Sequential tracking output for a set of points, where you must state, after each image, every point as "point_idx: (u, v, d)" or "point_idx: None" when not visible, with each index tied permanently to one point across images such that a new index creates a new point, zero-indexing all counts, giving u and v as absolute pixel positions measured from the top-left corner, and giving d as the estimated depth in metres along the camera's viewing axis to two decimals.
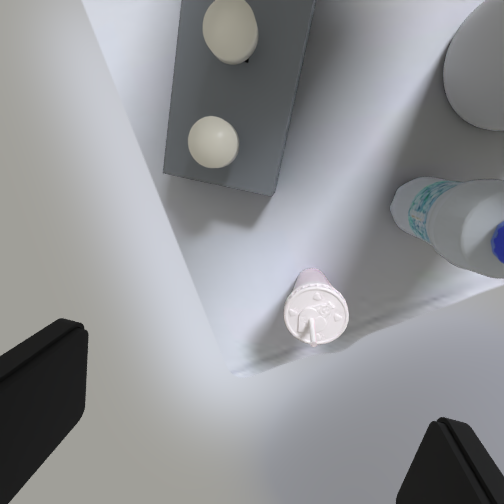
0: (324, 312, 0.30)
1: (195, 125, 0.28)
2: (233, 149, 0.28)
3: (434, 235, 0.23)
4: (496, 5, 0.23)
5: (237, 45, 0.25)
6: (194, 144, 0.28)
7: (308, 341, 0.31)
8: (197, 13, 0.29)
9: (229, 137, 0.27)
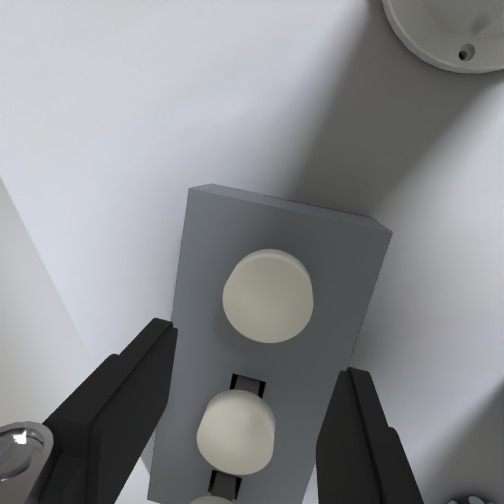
0: None
1: None
2: None
3: None
4: None
5: (246, 464, 0.18)
6: None
7: None
8: (190, 350, 0.21)
9: None
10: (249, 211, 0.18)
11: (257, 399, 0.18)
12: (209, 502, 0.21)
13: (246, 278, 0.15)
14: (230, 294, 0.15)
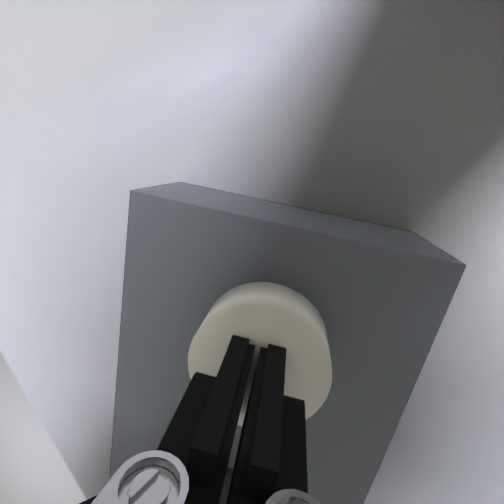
0: None
1: None
2: None
3: None
4: None
5: None
6: None
7: None
8: (146, 429, 0.15)
9: None
10: (227, 228, 0.11)
11: None
12: None
13: (224, 334, 0.09)
14: (199, 357, 0.10)
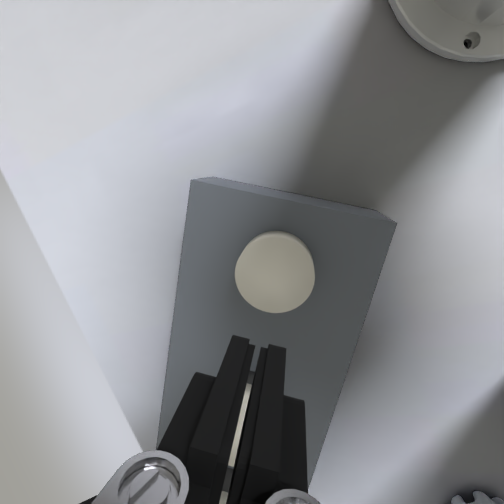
0: None
1: None
2: None
3: None
4: None
5: None
6: None
7: None
8: (193, 344, 0.21)
9: None
10: (252, 203, 0.18)
11: None
12: None
13: (256, 255, 0.17)
14: (241, 269, 0.17)
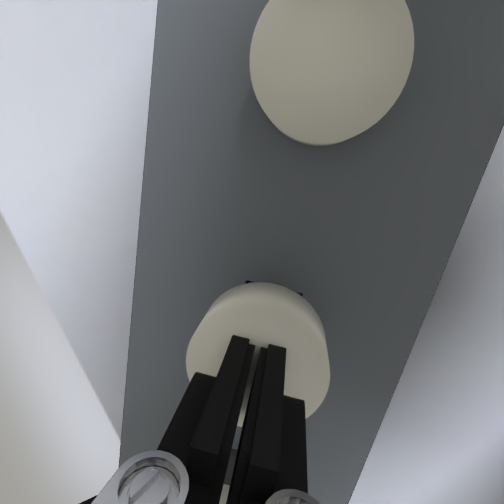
0: None
1: None
2: None
3: None
4: None
5: None
6: None
7: None
8: (176, 242, 0.13)
9: None
10: None
11: (296, 296, 0.10)
12: None
13: (293, 10, 0.08)
14: (263, 48, 0.09)
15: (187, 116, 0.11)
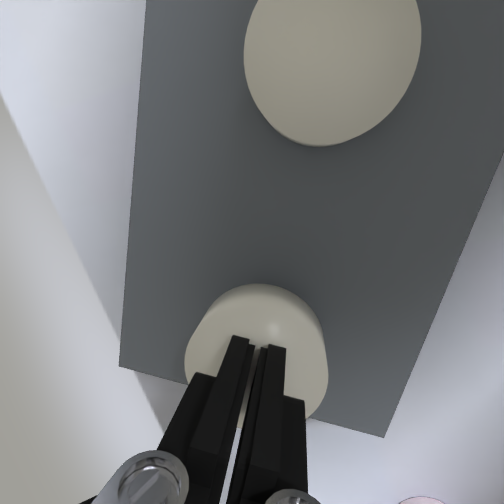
0: None
1: (206, 327, 0.09)
2: (319, 396, 0.09)
3: None
4: None
5: (352, 108, 0.08)
6: (203, 372, 0.10)
7: None
8: None
9: (310, 365, 0.09)
10: None
11: None
12: (250, 288, 0.10)
13: None
14: None
15: None
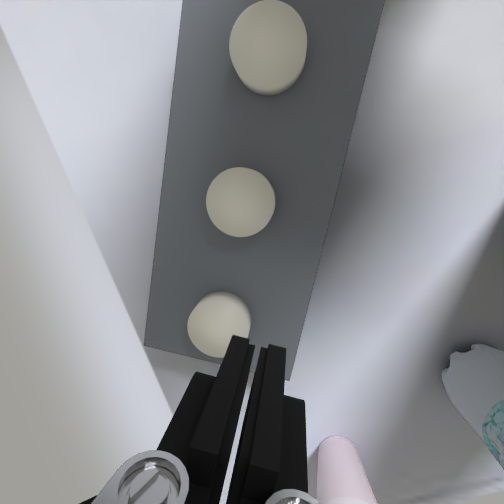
0: None
1: (196, 309, 0.22)
2: None
3: None
4: None
5: (250, 223, 0.20)
6: (195, 330, 0.22)
7: None
8: (188, 158, 0.21)
9: (240, 324, 0.22)
10: None
11: (259, 172, 0.21)
12: (216, 293, 0.23)
13: (249, 22, 0.17)
14: (236, 40, 0.18)
15: (196, 81, 0.20)
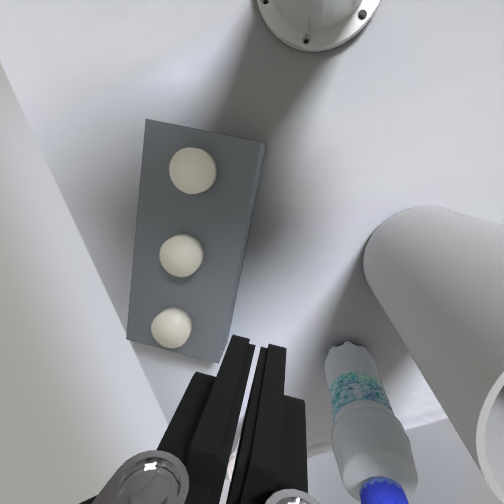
0: None
1: (156, 318, 0.35)
2: (186, 337, 0.35)
3: (333, 450, 0.29)
4: (384, 260, 0.29)
5: (186, 269, 0.33)
6: (156, 331, 0.36)
7: None
8: (150, 226, 0.34)
9: (183, 328, 0.35)
10: (181, 132, 0.31)
11: (193, 237, 0.34)
12: (170, 308, 0.36)
13: (180, 158, 0.30)
14: (172, 167, 0.30)
15: (153, 181, 0.33)
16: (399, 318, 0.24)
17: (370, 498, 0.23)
